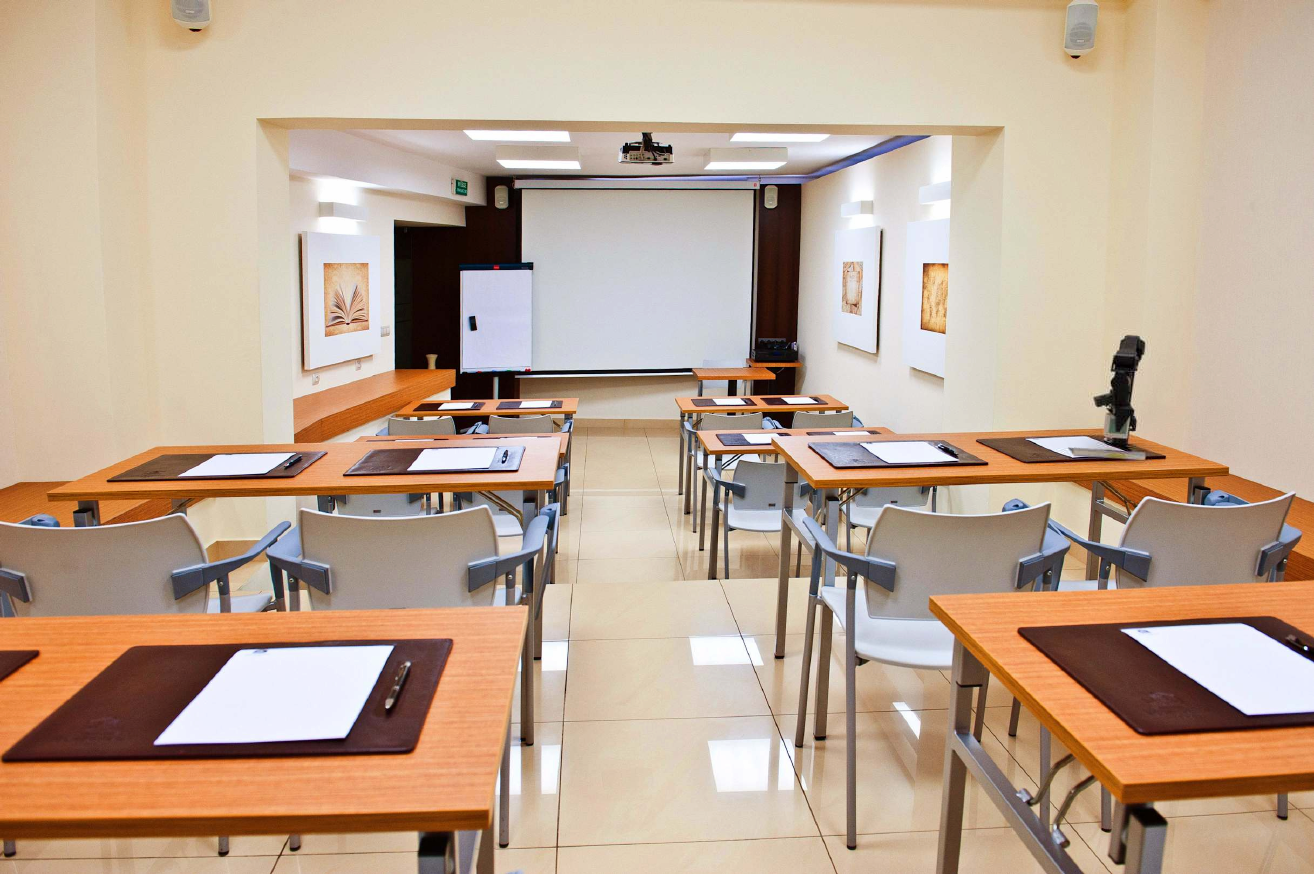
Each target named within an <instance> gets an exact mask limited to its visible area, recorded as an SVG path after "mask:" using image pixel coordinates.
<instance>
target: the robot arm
mask: <svg viewBox="0 0 1314 874" xmlns="http://www.w3.org/2000/svg"><path fill="white" fill-rule="evenodd" d="M1145 353H1146V341H1145V340H1144V339H1143V340H1142V338H1141V337H1140V336H1139V335H1133V334H1130V335H1129V334H1127V335H1124V338H1123V339H1121V340H1120V342H1119V348H1118V350H1117V351H1116V353H1115V354H1113V356H1112V363H1111V367H1110V372H1112V373H1114V374H1113V375H1114V376H1113V377H1112V378H1111V379H1110V382H1109V383H1110V387H1111V389H1110V390H1109V393H1103V394H1099V395H1097V396H1094V397H1092V398H1093V401H1094V405H1095V406H1096V407H1097V408H1100V407H1101V408H1103V406H1104V407H1106V408H1105V409H1106V410H1107V411H1108V413H1112V414H1113V415H1114V417H1115V425H1116V432H1120V430H1121V429H1122V427H1123V426H1124V424H1125V423H1126V421H1127V420H1128V419H1129V417H1130V422H1129V429H1128V437H1127V439H1126V438H1112V437H1111V441H1109V444H1110V443H1112V444H1115V445H1118V446H1119V445H1120V446H1127V445H1129V439H1130V432H1132V433H1133V432H1136V431H1137V424H1138V423H1137V418H1136V415H1135V409H1134V408H1133V405H1132V397H1133V390H1134V383H1135V376H1136V372H1138V370H1139V369H1138V368H1139V364H1140V362H1141V361H1142V359H1143V356H1145Z"/></svg>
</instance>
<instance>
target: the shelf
mask: <svg viewBox="0 0 1314 874" xmlns="http://www.w3.org/2000/svg"><path fill="white" fill-rule="evenodd" d="M1068 450H1069V451H1070V453H1071V454H1072V455H1074V456H1078V457H1080V456H1081V457H1094V458H1106V459H1108V458H1109V459H1119V460H1132V461H1133V460H1134V461H1145V460H1146V453H1145V452H1141V451H1126V450H1113V449H1112V450H1111V449H1100V448H1099V449H1098V448H1084V447H1068Z"/></svg>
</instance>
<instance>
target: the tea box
mask: <svg viewBox="0 0 1314 874" xmlns="http://www.w3.org/2000/svg"><path fill="white" fill-rule="evenodd" d="M1129 422H1130V417H1129V419H1128V420H1127V421H1126V423H1125V424H1124V426H1123V427H1122V429H1121V430H1120V432H1116V425H1115V417H1114V415H1113V414H1112V413H1110V412H1105V416H1104V424H1103V432H1102V435H1103V436H1104V437H1105V438H1111V439H1112V438H1126V439H1127V437H1128V429H1129Z"/></svg>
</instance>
